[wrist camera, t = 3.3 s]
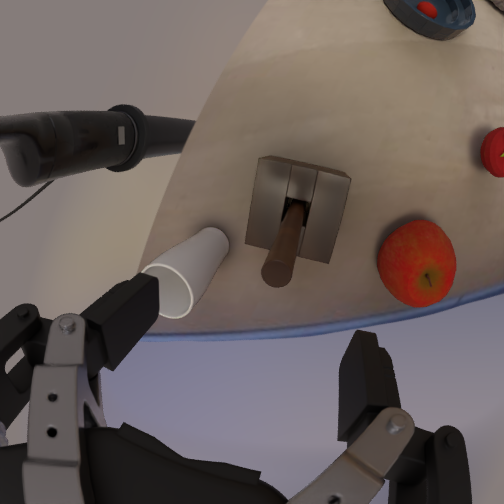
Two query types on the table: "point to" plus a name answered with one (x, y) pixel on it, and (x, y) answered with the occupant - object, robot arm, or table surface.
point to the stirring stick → (284, 247)
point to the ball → (427, 9)
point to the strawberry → (493, 152)
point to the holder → (301, 188)
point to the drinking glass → (187, 270)
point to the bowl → (444, 25)
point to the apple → (417, 263)
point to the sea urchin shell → (499, 4)
